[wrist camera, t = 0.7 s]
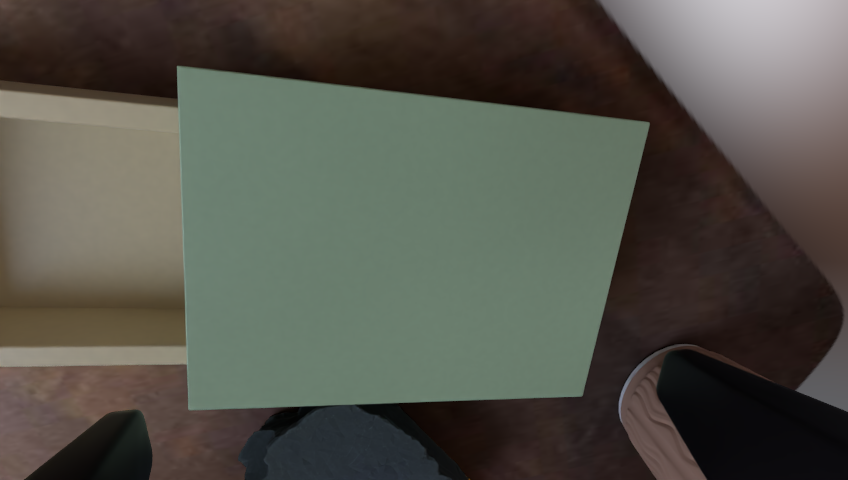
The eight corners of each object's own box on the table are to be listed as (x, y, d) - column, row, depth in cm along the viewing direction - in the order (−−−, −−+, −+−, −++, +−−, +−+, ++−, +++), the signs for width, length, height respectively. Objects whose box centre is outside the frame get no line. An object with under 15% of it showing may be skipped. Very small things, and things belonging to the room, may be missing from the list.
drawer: (-102, 325, 18) (-213, 391, 15) (-166, 43, 15) (-328, 30, 12) (313, 326, 22) (312, 379, 18) (325, 98, 19) (327, 103, 15)
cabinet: (219, 329, 22) (188, 411, 17) (216, 69, 19) (176, 65, 13) (525, 329, 26) (582, 397, 20) (569, 111, 22) (651, 122, 17)
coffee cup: (708, 458, 32) (916, 659, 21) (572, 462, 30) (728, 693, 18) (763, 321, 29) (1038, 468, 18) (618, 312, 27) (836, 478, 16)
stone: (381, 550, 29) (386, 601, 26) (219, 449, 24) (205, 497, 21) (484, 464, 28) (501, 507, 25) (336, 344, 23) (337, 380, 21)
